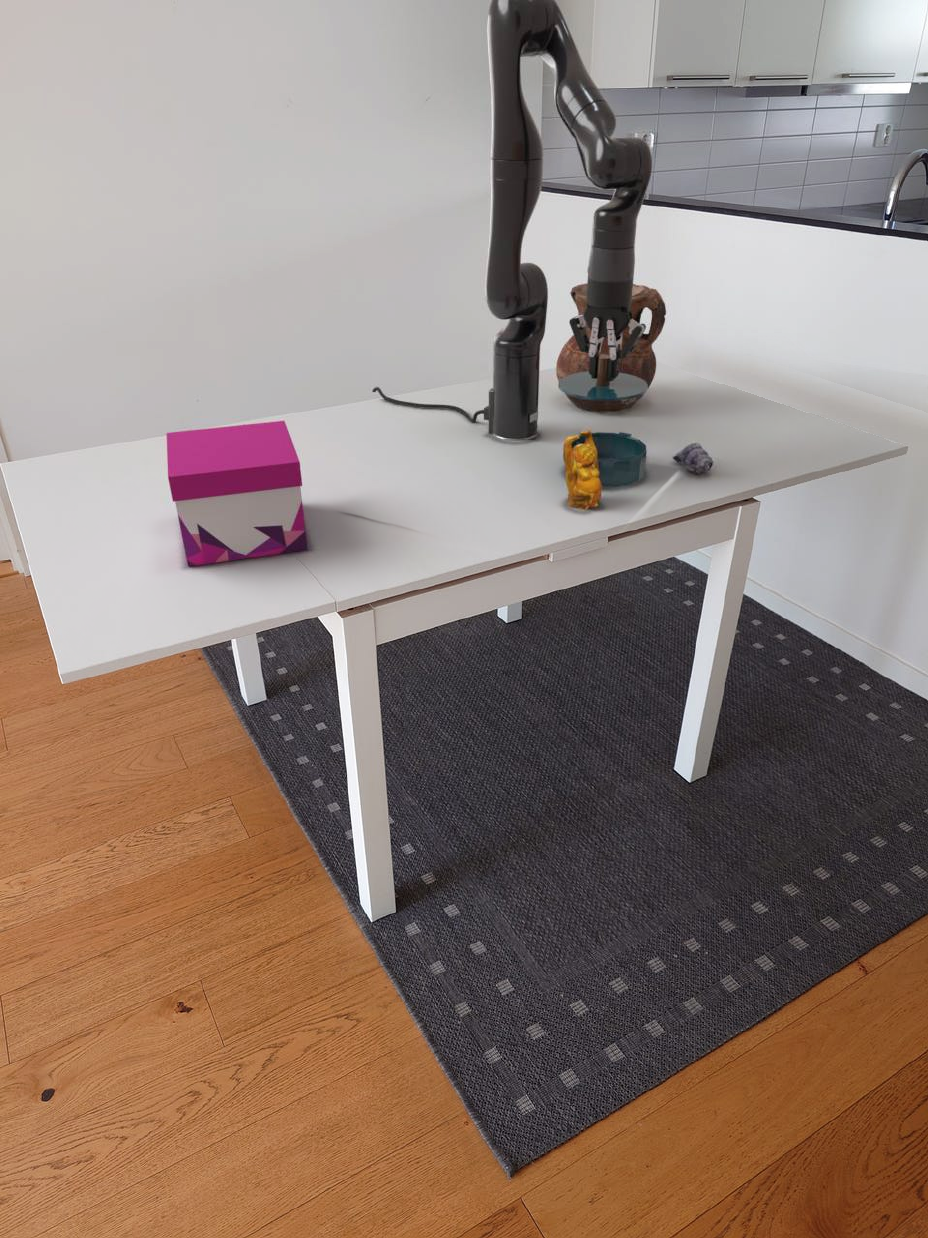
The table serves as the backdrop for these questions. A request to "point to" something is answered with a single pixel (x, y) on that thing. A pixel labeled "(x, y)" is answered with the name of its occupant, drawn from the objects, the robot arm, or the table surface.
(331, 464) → the table surface
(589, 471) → the figurine
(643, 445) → the pot
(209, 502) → the decorative box
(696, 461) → the seashell
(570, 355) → the jug
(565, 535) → the table surface
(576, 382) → the lid
